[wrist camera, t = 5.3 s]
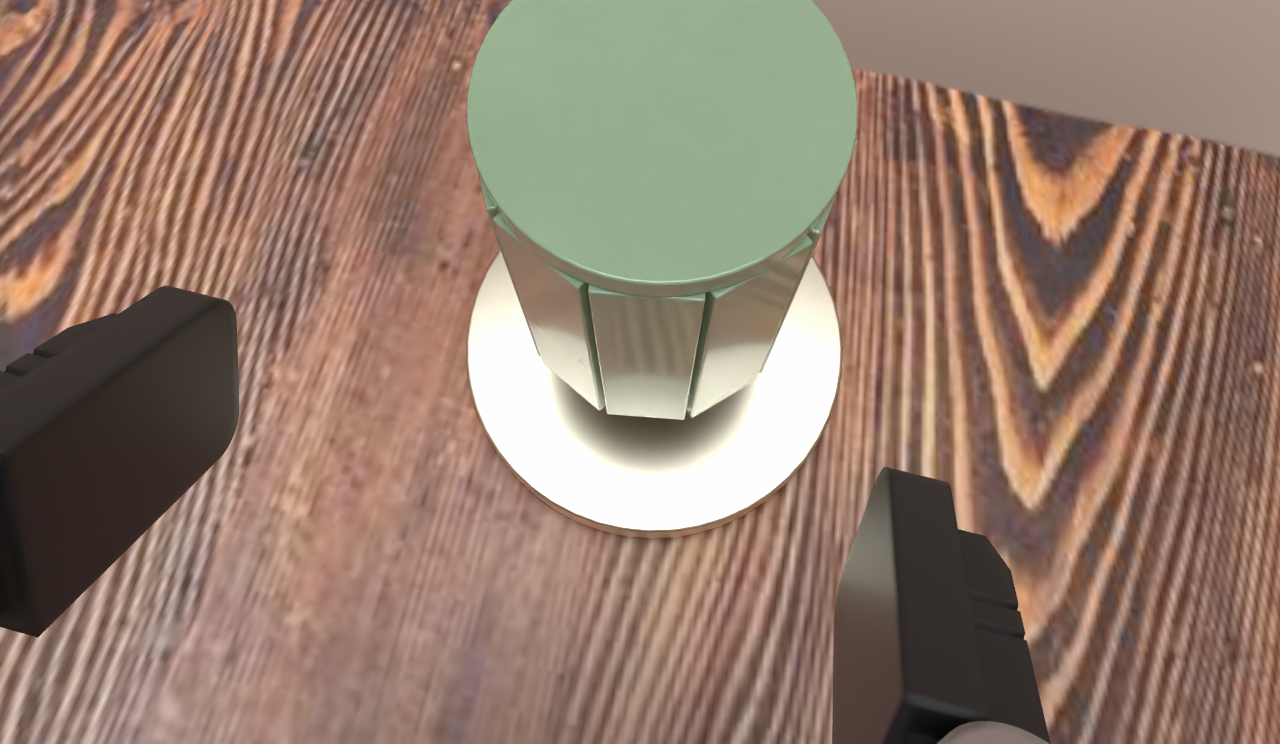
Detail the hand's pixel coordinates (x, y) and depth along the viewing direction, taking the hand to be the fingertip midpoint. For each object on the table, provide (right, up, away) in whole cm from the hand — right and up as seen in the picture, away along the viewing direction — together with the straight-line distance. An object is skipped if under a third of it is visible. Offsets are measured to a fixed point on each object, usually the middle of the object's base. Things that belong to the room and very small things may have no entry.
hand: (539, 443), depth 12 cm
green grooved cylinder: (+2, +3, +13) cm, 13 cm away
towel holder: (+2, +1, +18) cm, 18 cm away
